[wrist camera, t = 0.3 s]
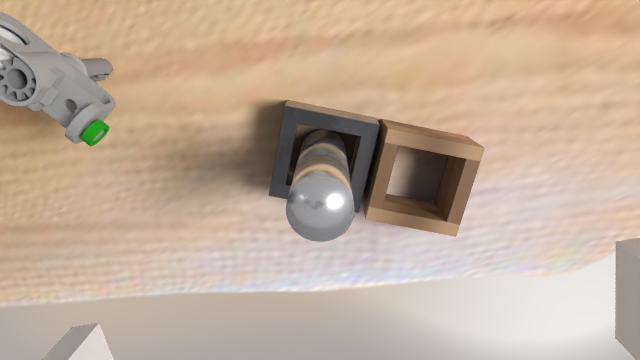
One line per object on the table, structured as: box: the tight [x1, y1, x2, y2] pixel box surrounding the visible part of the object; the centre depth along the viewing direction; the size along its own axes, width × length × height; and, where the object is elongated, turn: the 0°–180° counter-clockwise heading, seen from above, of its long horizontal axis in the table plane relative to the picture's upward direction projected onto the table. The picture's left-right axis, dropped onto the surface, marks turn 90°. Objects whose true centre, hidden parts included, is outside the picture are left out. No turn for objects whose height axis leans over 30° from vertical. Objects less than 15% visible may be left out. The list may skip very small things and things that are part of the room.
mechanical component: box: [0, 12, 116, 146], centre depth 29 cm, size 3×10×10 cm, turn 48°
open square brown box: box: [362, 119, 484, 237], centre depth 34 cm, size 7×7×4 cm
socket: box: [269, 100, 380, 213], centre depth 34 cm, size 7×7×3 cm
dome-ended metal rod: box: [286, 130, 355, 241], centre depth 29 cm, size 4×4×13 cm
